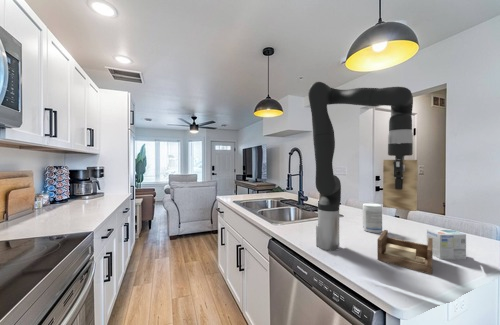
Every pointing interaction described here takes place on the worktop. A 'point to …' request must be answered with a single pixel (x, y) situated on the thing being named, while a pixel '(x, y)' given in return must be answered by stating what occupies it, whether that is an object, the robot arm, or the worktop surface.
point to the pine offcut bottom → (418, 259)
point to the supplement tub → (372, 217)
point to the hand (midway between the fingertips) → (399, 188)
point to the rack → (421, 249)
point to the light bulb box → (448, 244)
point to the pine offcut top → (401, 251)
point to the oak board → (408, 194)
